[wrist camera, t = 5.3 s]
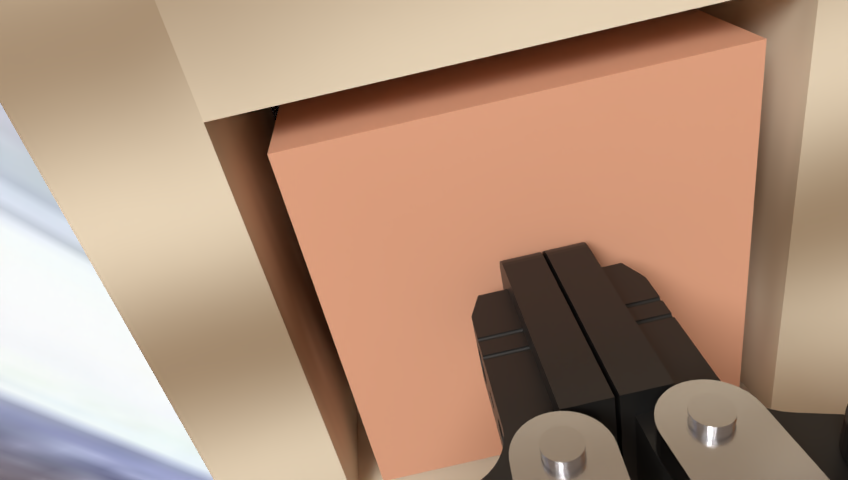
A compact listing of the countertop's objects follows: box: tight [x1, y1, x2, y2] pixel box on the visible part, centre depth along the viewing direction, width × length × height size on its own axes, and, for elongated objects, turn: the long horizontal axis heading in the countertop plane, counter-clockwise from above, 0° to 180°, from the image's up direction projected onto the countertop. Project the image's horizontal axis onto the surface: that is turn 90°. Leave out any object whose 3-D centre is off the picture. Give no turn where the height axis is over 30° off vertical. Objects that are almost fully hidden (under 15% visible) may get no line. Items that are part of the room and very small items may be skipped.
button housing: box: [0, 0, 848, 480], centre depth 14 cm, size 20×14×5 cm
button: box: [267, 9, 767, 480], centre depth 13 cm, size 8×8×4 cm
